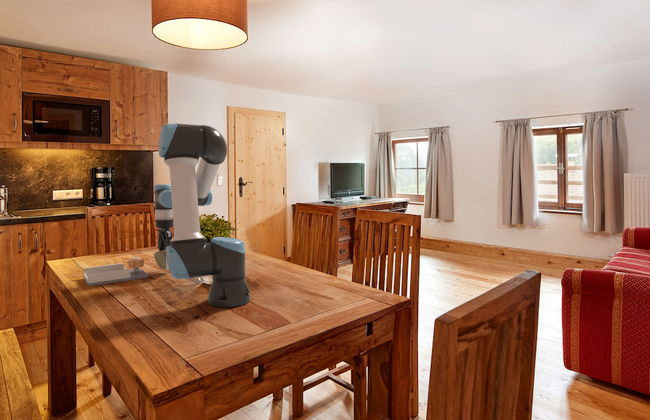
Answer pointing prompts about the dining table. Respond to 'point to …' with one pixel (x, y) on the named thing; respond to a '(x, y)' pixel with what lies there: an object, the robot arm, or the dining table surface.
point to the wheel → (136, 262)
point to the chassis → (111, 274)
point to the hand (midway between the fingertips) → (166, 267)
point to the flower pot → (160, 259)
